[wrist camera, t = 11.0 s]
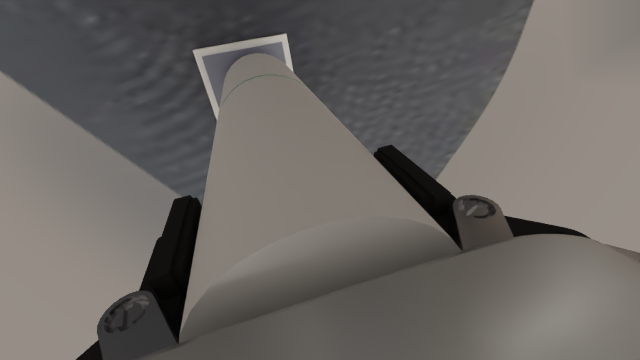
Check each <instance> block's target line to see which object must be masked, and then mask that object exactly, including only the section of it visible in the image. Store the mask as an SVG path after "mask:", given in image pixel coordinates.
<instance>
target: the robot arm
mask: <svg viewBox="0 0 640 360" xmlns="http://www.w3.org/2000/svg"><path fill="white" fill-rule="evenodd" d="M374 158H375V159H376V160H377V161H378V162H379V163H380V164H381V165H382V166H383V167H384V168H385V169H386V170H387V171H388V172H389V173H390V174H391V175H392V176H393V177H394V178H395V180H396V181H397V182H398V183H399V184H400V185H401V186H402V187H403V188H404V189H405V190H406V191H407V192H408V193H409V194H410V195H411V196H412V197H413V198H414V199H415V200H416V202H417V203H418V204H419V205H420V206H421V207H422V208H423V209H424V210H425V211H426V212H427V213H428V214H429V215H430V216H431V217H432V218H433V219H434V220H435V221H436V222H437V224H438V225H439V226H440V227H441V228H442V229H443V230H444V231H445V232H446V233H447V234H448V235H449V236H450V237H451V238H452V239H453V241H454V242H455V243H456V245H457V246H458V247H459V249H460V250H461V252H457V253H454V254H451V255H447V256H444V257H441V258H438V259H435V260H431V261H428V262H425V263H422V264H419V265H416V266H413V267H409V268H406V269H403V270H400V271H397V272H394V273H391V274H387V275H384V276H381V277H378V278H375V279H372V280H369V281H366V282H362V283H359V284H356V285H353V286H350V287H347V288H344V289H341V290H338V291H335V292H332V293H328V294H325V295H322V296H319V297H316V298H313V299H310V300H307V301H304V302H301V303H298V304H295V305H292V306H289V307H286V308H283V309H280V310H276V311H273V312H270V313H267V314H264V315H261V316H258V317H255V318H252V319H249V320H246V321H243V322H240V323H237V324H234V325H231V326H228V327H225V328H222V329H219V330H216V331H213V332H210V333H207V334H204V335H201V336H199V337H196V338H193V339H190V340H187V341H184V342H181V343H179V335H180V329H181V324H182V318H183V312H184V307H185V301H186V295H187V290H188V284H189V278H190V273H191V267H192V261H193V256H194V250H195V244H196V239H197V233H198V227H199V222H200V216H201V210H202V206H201V204H200V202H199V200H198V198H192V196H190V195H189V196H185V197H181V198H177V199H175V200H174V201H173V204H172V207H171V210H170V213H169V216H168V219H167V222H166V225H165V228H164V231H163V234H162V237H160V238H158V240H157V242H156V244H155V247H154V250H153V253H152V256H151V259H150V261H149V264H148V267H147V270H146V273H145V275H144V278H143V281H142V284H141V287H140V289H139V291H136V292H133V293H130V294H128V295H126V296H124V297H122V298H120V299H119V300H118V301H116V302H115V303H113V304H112V305H111V306H110V307H109V308H108V309H107V310H106V311H105V313H104V314H103V315H102V317H101V318H100V321H99V323H98V325H97V334H98V339H99V340H98V341H97V342H95V343H94V344H93V345H92V346H91V347H90V348H89V349H87V350H86V351H85V352H84V353H83V354H82V355H81V356H79V357H78V358H77V359H76V360H640V253H638V252H634V251H630V250H626V249H622V248H618V247H614V246H610V245H606V244H603V243H600V242H598V241H595V240H592V239H591V238H589V237H587V236H586V235H584V234H582V233H580V232H578V231H575V230H572V229H568V228H564V227H559V226H554V225H549V224H544V223H539V222H534V221H528V220H523V219H518V218H512V217H508V216H504V215H503V212H502V210H501V208H500V207H499V206H498V204H496V203H495V202H494V201H492V200H490V199H488V198H485V197H481V196H476V195H465V196H461V197H459V198H457V199H456V198H455V197H454V196H453V195H452V194H451V193H450V192H449V191H448V190H447V189H446V188H444V187H443V186H442V185H441V184H439V183H438V182H437V181H436V180H434V179H433V178H432V177H431V176H430V175H428V174H427V173H426V172H425V171H423V170H422V169H421V168H420V167H418V166H417V165H416V164H415V163H413V162H412V161H411V160H410V159H408V158H407V157H406V156H405V155H404V154H402V153H401V152H400V151H399V150H397V149H396V148H395V147H394V146H392V145H388V146H384V147H380V148H378V150H377V152H375V153H374Z"/></svg>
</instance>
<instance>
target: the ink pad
mask: <svg viewBox="0 0 640 360" xmlns="http://www.w3.org/2000/svg"><path fill="white" fill-rule="evenodd" d="M193 53H194V56H195V59H196V62H197V65H198V67H199V70H200V73H201V76H202V79H203V82H204V85H205V88H206V91H207V93H208V96H209V99H210V102H211V105H212V108H213V111H214V114H215V117H216V119H218V114H219V108H220V102H221V96H222V91H223V85H224V80H225V77H226V74H227V72H228V70H229V69H230V67H231V66H232V65H233V64H234V63H235V62H236V61H237V60H238V59H240V58H241V57H243V56H246V55H248V54H254V53H264V54H268V55H272V56H274V57H276V58H278V59H280V60H281V61H282V62H283V63H285V64H286V65H287V66H288V67H289V68H290V70H291V71H292V72H293V67H292V62H291V56H290V51H289V45H288V40H287V34H285V33H284V34H278V35H272V36H267V37H261V38H255V39H250V40H244V41H239V42H233V43H227V44H222V45H216V46H210V47H205V48H199V49H194V50H193Z"/></svg>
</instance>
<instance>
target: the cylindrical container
mask: <svg viewBox="0 0 640 360" xmlns="http://www.w3.org/2000/svg"><path fill="white" fill-rule="evenodd" d="M457 252H461V250H460V249H459V247H458V246H457V245H456V243H455V242H454V241H453V239H452V238H451V237H450V236H449V235H448V234H447V233H446V232H445V231H444V230H443V229H442V228H441V227H440V226H439V225H438V224H437V222H436V221H435V220H434V219H433V218H432V217H431V216H430V215H429V214H428V213H427V212H426V211H425V210H424V209H423V208H422V207H421V206H420V205H419V204H418V203H417V202H416V200H415V199H414V198H413V197H412V196H411V195H410V194H409V193H408V192H407V191H406V190H405V189H404V188H403V187H402V186H401V185H400V184H399V183H398V182H397V181H396V180H395V178H394V177H393V176H392V175H391V174H390V173H389V172H388V171H387V170H386V169H385V168H384V167H383V166H382V165H381V164H380V163H379V162H378V161H377V160H376V159H375V158H374V156H373V155H372V154H371V153H370V152H369V151H368V150H367V149H366V148H365V147H364V146H363V145H362V144H361V143H360V142H359V141H358V140H357V139H356V138H355V137H354V136H353V134H352V133H351V132H350V131H349V130H348V129H347V128H346V127H345V126H344V125H343V124H342V123H341V122H340V121H339V120H338V119H337V118H336V117H335V116H334V115H333V114H332V112H331V111H330V110H329V109H328V108H327V107H326V106H325V105H324V104H323V103H322V102H321V101H320V100H319V99H318V98H317V97H316V96H315V95H314V94H313V93H312V92H311V90H310V89H309V88H308V87H307V86H306V85H305V84H304V83H303V82H302V81H301V80H300V79H299V78H298V77H297V76H296V75H295V74H294V73H293V72H292V71H291V70H290V68H289V67H288V66H287V65H286V64H285V63H283V62H282V61H281V60H280V59H278V58H276V57H274V56H272V55H268V54H264V53H254V54H248V55H246V56H243V57H241V58H240V59H238V60H237V61H236V62H235V63H234V64H233V65H232V66H231V67H230V69H229V70H228V72H227V74H226V77H225V80H224V85H223V91H222V96H221V102H220V108H219V114H218V119H217V125H216V131H215V137H214V142H213V148H212V154H211V159H210V165H209V171H208V176H207V182H206V188H205V193H204V199H203V205H202V210H201V216H200V222H199V227H198V233H197V239H196V244H195V250H194V256H193V261H192V267H191V273H190V278H189V284H188V290H187V295H186V301H185V307H184V312H183V318H182V324H181V329H180V335H179V343H181V342H184V341H187V340H190V339H193V338H196V337H199V336H201V335H204V334H207V333H210V332H213V331H216V330H219V329H222V328H225V327H228V326H231V325H234V324H237V323H240V322H243V321H246V320H249V319H252V318H255V317H258V316H261V315H264V314H267V313H270V312H273V311H276V310H280V309H283V308H286V307H289V306H292V305H295V304H298V303H301V302H304V301H307V300H310V299H313V298H316V297H319V296H322V295H325V294H328V293H332V292H335V291H338V290H341V289H344V288H347V287H350V286H353V285H356V284H359V283H362V282H366V281H369V280H372V279H375V278H378V277H381V276H384V275H387V274H391V273H394V272H397V271H400V270H403V269H406V268H409V267H413V266H416V265H419V264H422V263H425V262H428V261H431V260H435V259H438V258H441V257H444V256H447V255H451V254H454V253H457Z"/></svg>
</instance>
